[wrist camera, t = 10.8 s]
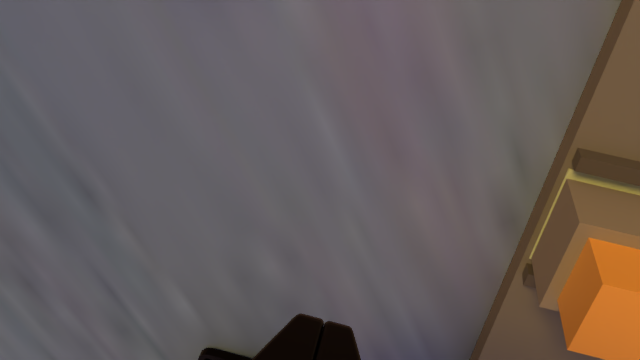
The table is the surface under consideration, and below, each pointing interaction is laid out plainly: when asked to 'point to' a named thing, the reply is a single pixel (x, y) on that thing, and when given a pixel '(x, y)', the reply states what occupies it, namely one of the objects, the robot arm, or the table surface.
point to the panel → (570, 163)
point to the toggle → (593, 269)
